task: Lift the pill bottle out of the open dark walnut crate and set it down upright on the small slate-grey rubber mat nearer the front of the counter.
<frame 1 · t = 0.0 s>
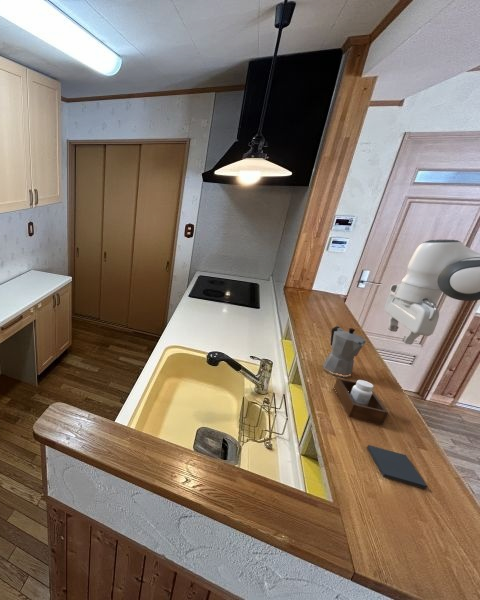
hand: (399, 336, 99), 23 cm above the worktop, tool pointing down, fingers open, 8 cm apart
pill bottle: (355, 406, 103), resting in storage crate
coffeepot: (334, 370, 124), on the worktop
rubber mat: (394, 467, 81), on the worktop
storage crate: (356, 405, 103), on the worktop
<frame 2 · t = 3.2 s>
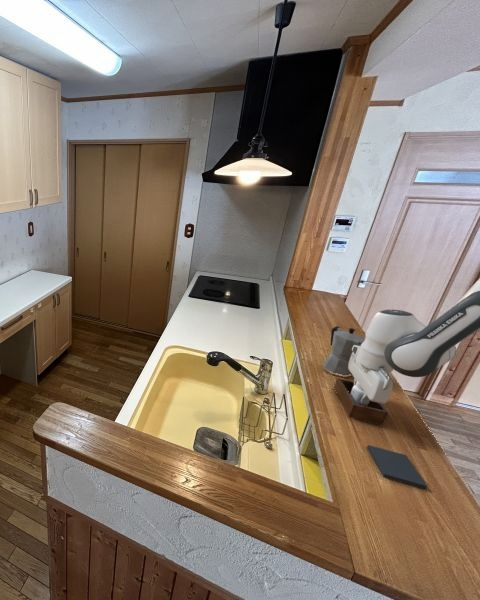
hand: (359, 397, 102), 3 cm above the worktop, tool pointing down, fingers closed on pill bottle, 5 cm apart
pill bottle: (355, 406, 103), resting in storage crate, touching gripper
everything else where it was.
when the fingers open (4 cm above the worktop, at t = 11.0 s): pill bottle stays where it is, resting on rubber mat.
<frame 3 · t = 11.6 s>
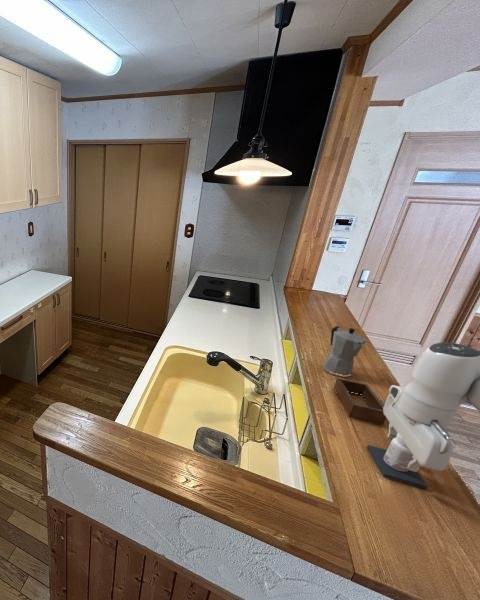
hand: (400, 454, 79), 4 cm above the worktop, tool pointing down, fingers open, 8 cm apart
pill bottle: (395, 464, 80), point 1 cm above the worktop, touching rubber mat
everything else where it was.
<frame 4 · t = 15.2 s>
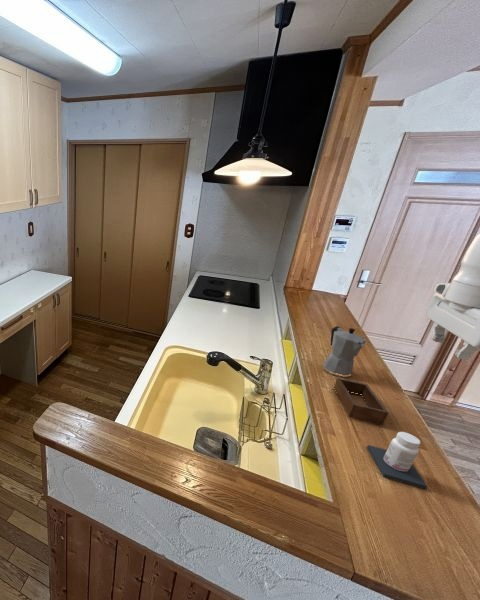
hand: (447, 349, 79), 29 cm above the worktop, tool pointing down, fingers open, 8 cm apart
nothing on the worktop moved.
at the end: pill bottle inside the target area on the rubber mat (0.1 cm from its centre), point 0.8 cm above the rubber mat's base; pill bottle tilted 0°; the gripper is holding nothing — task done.
